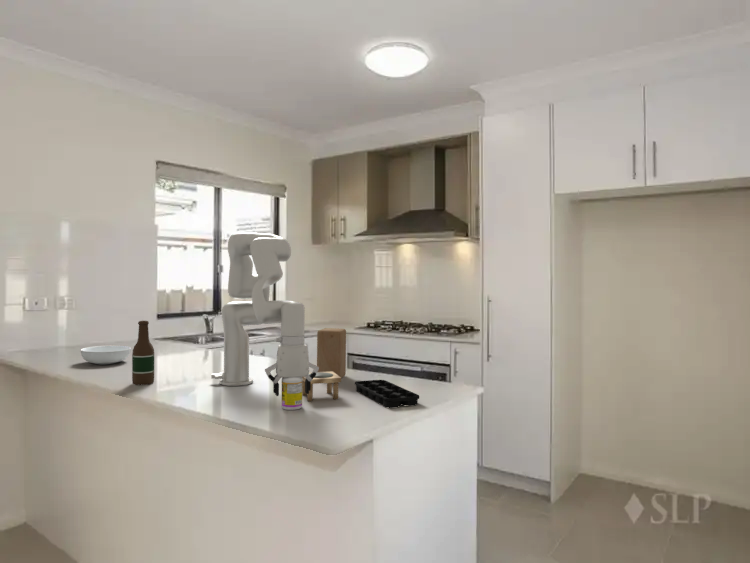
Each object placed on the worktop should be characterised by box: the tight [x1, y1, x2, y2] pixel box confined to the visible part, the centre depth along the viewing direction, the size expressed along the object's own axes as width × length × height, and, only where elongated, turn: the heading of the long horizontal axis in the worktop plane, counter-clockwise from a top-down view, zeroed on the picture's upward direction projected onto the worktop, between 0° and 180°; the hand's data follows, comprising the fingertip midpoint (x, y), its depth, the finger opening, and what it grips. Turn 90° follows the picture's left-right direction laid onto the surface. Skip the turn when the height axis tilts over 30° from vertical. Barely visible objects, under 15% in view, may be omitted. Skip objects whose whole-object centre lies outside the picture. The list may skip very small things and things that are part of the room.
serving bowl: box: [79, 345, 132, 366], centre depth 247 cm, size 21×21×7 cm
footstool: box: [302, 371, 342, 402], centre depth 186 cm, size 12×12×8 cm
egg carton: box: [354, 379, 420, 409], centre depth 186 cm, size 18×30×4 cm, turn 37°
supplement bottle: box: [281, 377, 303, 411], centre depth 170 cm, size 7×7×13 cm
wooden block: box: [316, 327, 347, 379], centre depth 219 cm, size 10×10×20 cm
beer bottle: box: [131, 320, 155, 386], centre depth 204 cm, size 8×8×24 cm
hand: (292, 394), depth 170 cm, fingers open, 9 cm apart
